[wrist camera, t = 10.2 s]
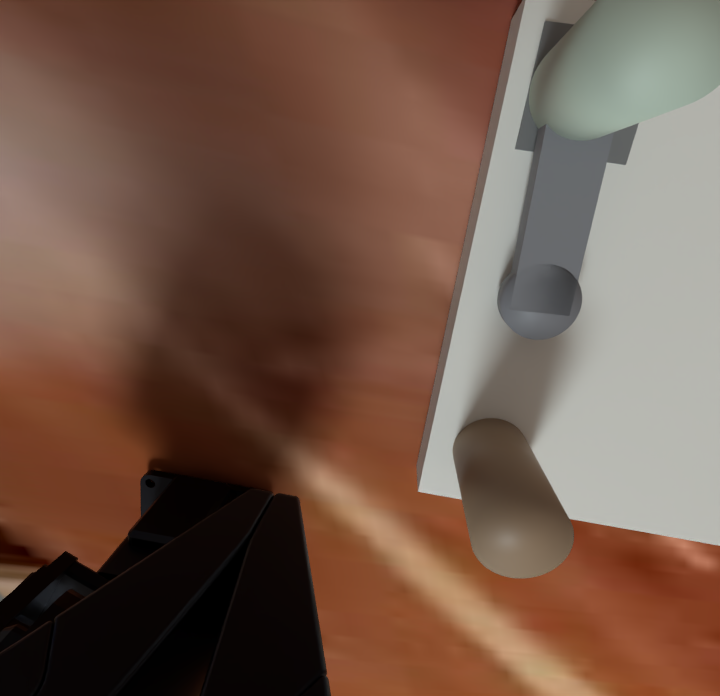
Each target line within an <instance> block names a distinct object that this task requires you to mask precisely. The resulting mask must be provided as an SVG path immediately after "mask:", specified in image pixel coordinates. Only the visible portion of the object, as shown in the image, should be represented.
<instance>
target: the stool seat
mask: <svg viewBox="0 0 720 696" xmlns="http://www.w3.org/2000/svg"><path fill="white" fill-rule="evenodd" d="M595 2H596V1H595V0H522V2H521V4H520V6H519V7H518V9H517V11H516V13H515V14H514V16H513V18H512V20H511V24H510V29H509V34H508V38H507V43H506V48H505V53H504V57H503V62H502V67H501V71H500V76H499V81H498V85H497V90H496V95H495V99H494V104H493V109H492V114H491V118H490V123H489V128H488V132H487V137H486V142H485V146H484V151H483V156H482V161H481V165H480V170H479V175H478V179H477V184H476V189H475V193H474V198H473V203H472V207H471V212H470V217H469V222H468V226H467V231H466V236H465V240H464V245H463V250H462V254H461V259H460V264H459V268H458V273H457V278H456V283H455V287H454V292H453V297H452V301H451V306H450V311H449V315H448V320H447V325H446V330H445V334H444V339H443V344H442V348H441V353H440V358H439V362H438V367H437V372H436V376H435V381H434V386H433V391H432V395H431V400H430V405H429V409H428V414H427V419H426V423H425V428H424V433H423V438H422V442H421V447H420V452H419V456H418V461H417V483H418V492H423V493H429V494H434V495H440V496H446V497H451V498H457V499H462V503H463V507H464V512H465V517H466V522H467V527H468V531H469V536H470V541H471V546H472V549H473V552H474V554H475V556H476V557H477V559H478V560H479V561H480V562H481V563H482V564H483V565H484V566H485V567H486V568H488V569H489V570H491V571H493V572H495V573H497V574H499V575H502V576H506V577H511V578H531V577H536V576H540V575H543V574H545V573H548V572H549V571H551V570H553V569H555V568H556V567H557V566H559V565H560V564H561V563H562V562H563V561H564V560H565V559H566V557H567V556H568V554H569V553H570V551H571V548H572V545H573V541H574V531H573V526H572V524H571V521H570V519H574V520H580V521H585V522H591V523H596V524H602V525H608V526H613V527H619V528H624V529H630V530H635V531H641V532H647V533H652V534H658V535H663V536H669V537H675V538H680V539H686V540H691V541H697V542H702V543H708V544H714V545H719V546H720V85H719V86H718V87H717V88H716V89H714V90H713V91H712V92H710V93H709V94H707V95H706V96H704V97H703V98H701V99H699V100H697V101H695V102H693V103H691V104H688V105H686V106H683V107H680V108H678V109H675V110H672V111H670V112H667V113H664V114H661V115H659V116H656V117H653V118H651V119H648V120H645V121H643V122H640V123H637V124H635V125H632V126H629V127H626V128H624V129H621V130H618V131H616V132H614V135H613V139H612V143H611V147H610V151H609V155H608V160H607V164H606V168H605V172H604V176H603V180H602V184H601V188H600V193H599V197H598V201H597V205H596V209H595V213H594V217H593V221H592V226H591V230H590V234H589V238H588V242H587V246H586V250H585V254H584V259H583V263H582V267H581V271H580V275H579V279H578V282H579V285H580V287H581V291H582V305H581V309H580V312H579V314H578V316H577V318H576V320H575V321H574V322H573V324H572V325H571V326H570V327H569V328H568V329H566V330H565V331H564V332H562V333H561V334H559V335H557V336H555V337H552V338H549V339H544V340H533V339H528V338H524V337H522V336H520V335H518V334H517V333H515V332H514V331H513V330H512V329H511V328H510V327H509V326H508V325H507V324H506V323H505V322H504V320H503V319H502V317H501V315H500V313H499V310H498V305H497V297H498V292H499V289H500V286H501V284H502V282H503V281H504V279H505V278H506V277H507V275H508V274H509V273H510V272H511V269H512V263H513V258H514V253H515V248H516V243H517V238H518V232H519V227H520V222H521V217H522V212H523V207H524V201H525V196H526V191H527V186H528V181H529V176H530V170H531V165H532V160H533V155H534V150H535V145H536V139H537V134H538V127H537V126H536V124H535V122H534V120H533V118H532V115H531V112H530V107H529V91H530V85H531V81H532V78H533V76H534V73H535V71H536V69H537V67H538V65H539V64H540V62H541V61H542V60H543V58H544V57H545V56H546V55H547V54H548V52H549V51H550V50H551V49H552V48H553V47H554V46H555V45H556V44H557V43H558V42H559V41H560V39H561V38H562V37H563V36H564V35H565V34H566V33H567V32H568V31H569V30H570V29H571V28H572V27H573V25H574V24H575V23H576V22H577V21H578V20H579V19H580V18H581V17H582V16H583V15H584V14H585V12H586V11H587V10H588V9H589V8H590V7H591V6H592V5H593V4H594V3H595Z"/></svg>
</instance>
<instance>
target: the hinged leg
mask: <svg viewBox="0 0 720 696" xmlns="http://www.w3.org/2000/svg"><path fill="white" fill-rule="evenodd" d="M719 85H720V0H597V1H596V2H595V3H594V4H593V5H592V6H591V7H590V8H589V9H588V10H587V11H586V12H585V14H584V15H583V16H582V17H581V18H580V19H579V20H578V21H577V22H576V23H575V24H574V25H573V27H572V28H571V29H570V30H569V31H568V32H567V33H566V34H565V35H564V36H563V37H562V38H561V39H560V41H559V42H558V43H557V44H556V45H555V46H554V47H553V48H552V49H551V50H550V51H549V52H548V54H547V55H546V56H545V57H544V58H543V60H542V61H541V62H540V64H539V65H538V67H537V69H536V71H535V73H534V76H533V78H532V81H531V85H530V91H529V107H530V112H531V115H532V118H533V120H534V122H535V124H536V126H537V127H538V134H537V139H536V145H535V150H534V155H533V160H532V165H531V170H530V176H529V181H528V186H527V191H526V196H525V201H524V207H523V212H522V217H521V222H520V227H519V232H518V238H517V243H516V248H515V253H514V258H513V263H512V269H511V272H510V273H509V274H508V275H507V277H506V278H505V279H504V281H503V282H502V284H501V286H500V289H499V292H498V297H497V305H498V310H499V313H500V315H501V317H502V319H503V320H504V322H505V323H506V324H507V325H508V326H509V327H510V328H511V329H512V330H513V331H514V332H515V333H517V334H518V335H520V336H522V337H524V338H528V339H533V340H544V339H549V338H552V337H555V336H557V335H559V334H561V333H562V332H564V331H565V330H566V329H568V328H569V327H570V326H571V325H572V324H573V322H574V321H575V320H576V318H577V316H578V314H579V312H580V309H581V305H582V291H581V287H580V285H579V282H578V279H579V275H580V271H581V267H582V263H583V259H584V254H585V250H586V246H587V242H588V238H589V234H590V230H591V226H592V221H593V217H594V213H595V209H596V205H597V201H598V197H599V193H600V188H601V184H602V180H603V176H604V172H605V168H606V164H607V160H608V155H609V151H610V147H611V143H612V139H613V135H614V132H616V131H618V130H621V129H624V128H626V127H629V126H632V125H635V124H637V123H640V122H643V121H645V120H648V119H651V118H653V117H656V116H659V115H661V114H664V113H667V112H670V111H672V110H675V109H678V108H680V107H683V106H686V105H688V104H691V103H693V102H695V101H697V100H699V99H701V98H703V97H704V96H706V95H707V94H709V93H710V92H712V91H713V90H714V89H716V88H717V87H718V86H719Z"/></svg>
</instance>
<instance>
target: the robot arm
mask: <svg viewBox="0 0 720 696" xmlns="http://www.w3.org/2000/svg"><path fill="white" fill-rule="evenodd" d="M150 479H151V480H153V481H154V482H155V483H153V482H151V480H150ZM77 560H78V558H77V557H75V556H73V555H72V554H70V553H68V552H66V551H65V552H64V553H63V554H62V555H60V556H59V557H58V558H57V559H56V560H54V561H53V562H52V563H51V564H50V565H49V566H48V565H46V564H45V565H43V566H42V567H41V568H40V569H39V570H37V571H36V572H34V573H31V574H30V575H29V576H28V577H27V578H26V579H25V580H24V581H23V582H22V583H21V584H20V585H19V586H18V587H17V588H16V589H15V590H13V591H12V592H11V593H10V594H9V595H8V596H6V597H5V598H4V599H3V600H2V601H1V602H0V696H331V693H330V686H329V680H328V678H327V677H326V675H327V670H326V663H325V657H324V651H323V645H322V638H321V632H320V626H319V619H318V613H317V607H316V601H315V594H314V588H313V582H312V576H311V569H310V563H309V557H308V550H307V544H306V538H305V532H304V525H303V519H302V513H301V506H300V500H299V498H298V497H297V496H292V495H287V494H281V493H278V494H275V496H274V493H273V492H270V491H265V490H260V489H254V488H249V487H243V486H238V485H232V484H227V483H222V482H216V481H210V480H205V479H199V478H194V477H188V476H183V475H177V474H172V473H166V472H161V471H155V470H151V471H148V472H147V473H146V474H145V475H144V476H143V477H142V478H141V518H140V519H139V520H138V521H137V522H136V524H135V525H134V526H133V527H132V528H131V529H130V531H129V533H128V536H127V537H126V538H125V539H124V541H123V542H122V543H121V544H120V545H119V547H118V548H117V549H116V550H115V551H114V552H113V554H112V555H111V556H110V557H109V558H108V560H107V561H106V562H105V563H104V564H103V565H102V567H101V568H100V569H99V570H98V571H97V572H95V571H93V570H91V569H90V568H88V567H86V566H85V565H83V564H81V563H79V562H78V561H77Z"/></svg>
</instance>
